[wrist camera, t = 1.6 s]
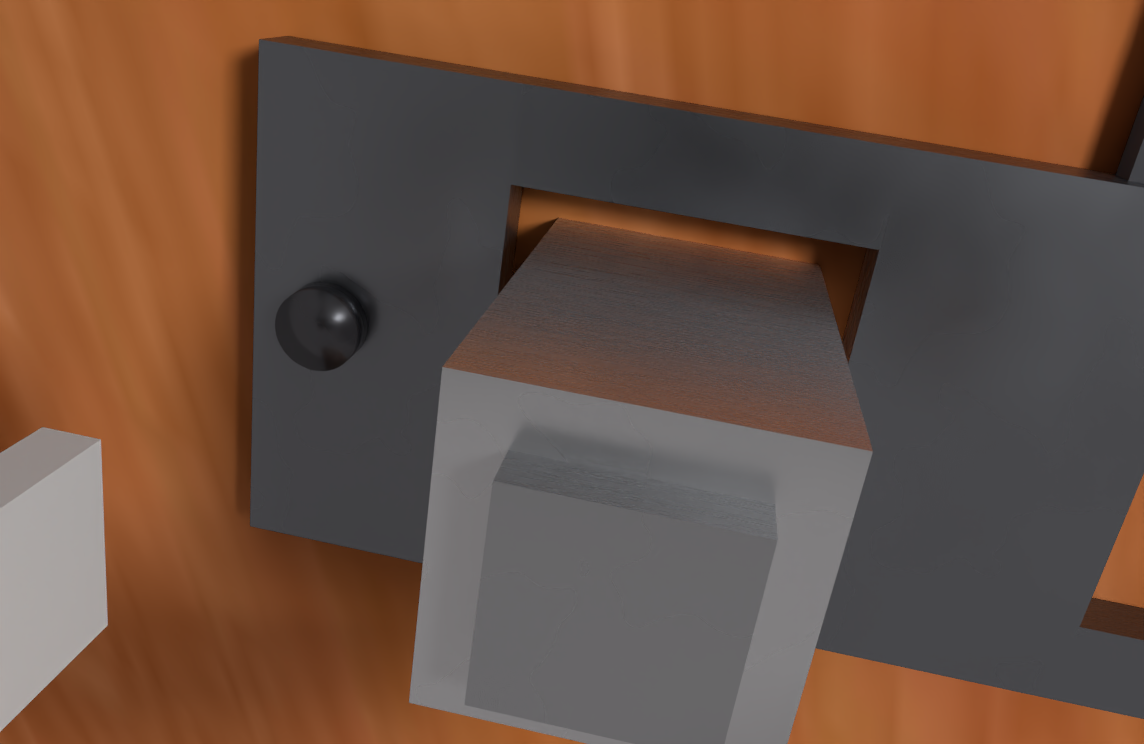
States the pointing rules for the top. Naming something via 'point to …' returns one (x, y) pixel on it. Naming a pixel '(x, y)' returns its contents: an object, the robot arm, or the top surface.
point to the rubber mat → (1134, 151)
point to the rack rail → (748, 198)
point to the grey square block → (639, 494)
